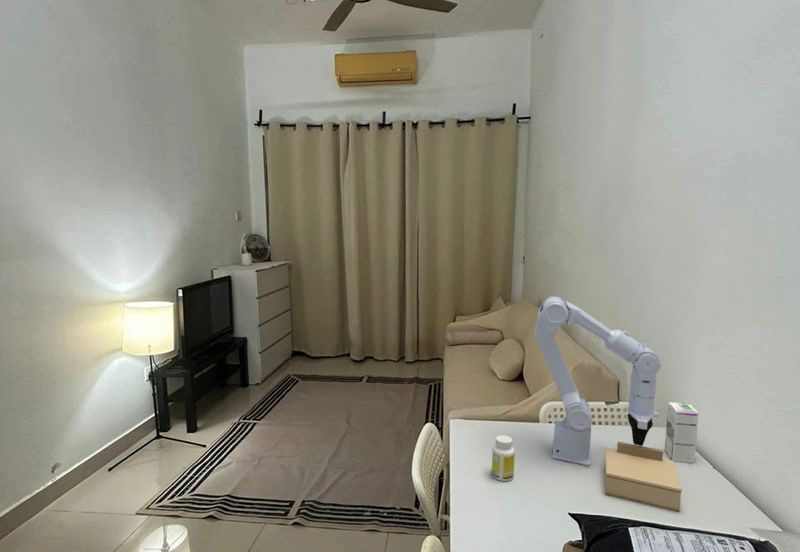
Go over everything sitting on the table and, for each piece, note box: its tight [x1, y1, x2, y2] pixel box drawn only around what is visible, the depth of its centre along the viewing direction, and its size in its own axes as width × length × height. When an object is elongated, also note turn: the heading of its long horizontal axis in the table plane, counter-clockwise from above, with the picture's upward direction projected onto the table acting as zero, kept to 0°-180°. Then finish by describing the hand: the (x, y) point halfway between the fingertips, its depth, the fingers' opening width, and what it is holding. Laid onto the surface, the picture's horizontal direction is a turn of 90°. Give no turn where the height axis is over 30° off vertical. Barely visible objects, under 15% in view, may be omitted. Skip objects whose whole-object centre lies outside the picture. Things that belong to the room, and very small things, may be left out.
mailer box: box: [604, 459, 682, 513], centre depth 109 cm, size 15×13×4 cm
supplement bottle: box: [491, 434, 516, 482], centre depth 113 cm, size 5×5×10 cm
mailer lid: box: [605, 441, 683, 493], centre depth 108 cm, size 15×13×3 cm
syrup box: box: [664, 401, 699, 464], centre depth 123 cm, size 6×6×14 cm
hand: (637, 443), depth 118 cm, fingers closed
